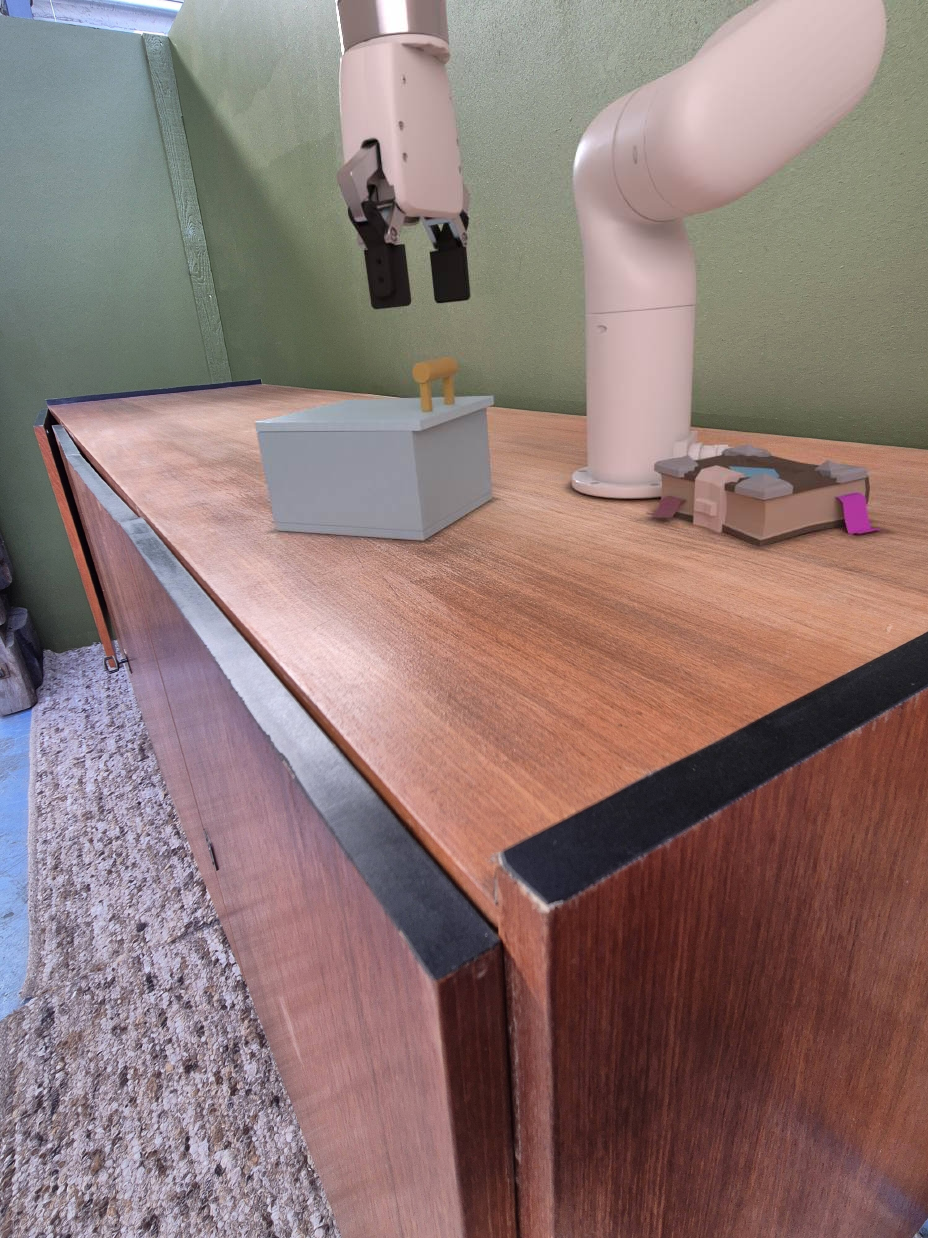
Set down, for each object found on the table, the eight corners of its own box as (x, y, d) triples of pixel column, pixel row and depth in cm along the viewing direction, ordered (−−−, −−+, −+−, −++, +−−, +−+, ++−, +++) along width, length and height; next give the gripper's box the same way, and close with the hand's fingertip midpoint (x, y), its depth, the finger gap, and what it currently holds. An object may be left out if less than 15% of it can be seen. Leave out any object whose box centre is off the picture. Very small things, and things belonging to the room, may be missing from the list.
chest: (492, 498, 69) (486, 404, 65) (423, 541, 58) (411, 430, 54) (359, 493, 76) (347, 408, 72) (275, 530, 65) (256, 432, 61)
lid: (494, 404, 65) (490, 350, 63) (420, 430, 54) (413, 367, 52) (347, 407, 72) (340, 359, 70) (256, 431, 61) (245, 375, 60)
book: (598, 505, 64) (598, 449, 62) (707, 482, 68) (710, 429, 66) (765, 564, 47) (771, 490, 45) (896, 530, 51) (908, 460, 49)
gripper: (411, 76, 58) (435, 304, 65) (271, 18, 44) (320, 315, 51) (494, 53, 55) (510, 295, 62) (371, -18, 41) (409, 305, 48)
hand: (424, 304), depth 57 cm, fingers open, 9 cm apart
